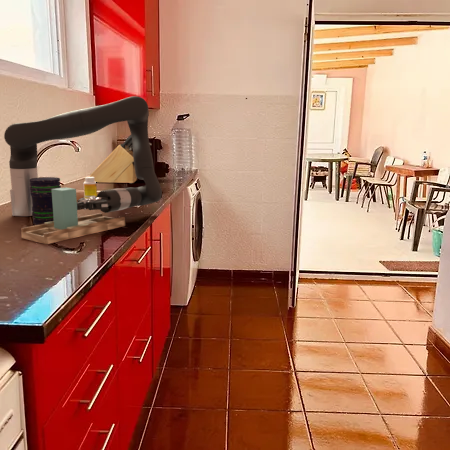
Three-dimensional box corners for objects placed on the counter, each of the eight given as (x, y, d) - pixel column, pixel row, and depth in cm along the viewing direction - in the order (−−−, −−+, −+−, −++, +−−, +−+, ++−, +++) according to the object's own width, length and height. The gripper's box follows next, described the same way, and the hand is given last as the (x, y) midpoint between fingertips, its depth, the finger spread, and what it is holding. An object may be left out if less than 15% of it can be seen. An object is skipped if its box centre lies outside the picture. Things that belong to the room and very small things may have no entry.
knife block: (149, 183, 262) (148, 128, 255) (87, 183, 262) (84, 127, 255) (152, 181, 273) (151, 127, 266) (93, 180, 273) (90, 127, 266)
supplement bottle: (98, 200, 204) (97, 177, 201) (85, 201, 201) (84, 178, 199) (96, 198, 208) (94, 176, 206) (83, 199, 206) (82, 176, 204)
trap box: (100, 221, 161) (100, 212, 161) (125, 225, 155) (124, 216, 154) (21, 238, 137) (20, 227, 137) (46, 244, 131) (45, 232, 130)
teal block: (67, 225, 146) (65, 187, 143) (78, 227, 143) (75, 188, 141) (54, 227, 142) (51, 189, 139) (64, 230, 139) (61, 190, 137)
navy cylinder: (32, 220, 162) (28, 177, 159) (61, 218, 166) (59, 176, 163) (33, 225, 153) (29, 181, 150) (64, 223, 157) (61, 179, 154)
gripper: (100, 187, 160) (57, 193, 146) (127, 190, 153) (84, 197, 139) (101, 208, 162) (59, 216, 148) (128, 213, 154) (86, 221, 140)
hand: (71, 207), depth 143 cm, fingers closed
